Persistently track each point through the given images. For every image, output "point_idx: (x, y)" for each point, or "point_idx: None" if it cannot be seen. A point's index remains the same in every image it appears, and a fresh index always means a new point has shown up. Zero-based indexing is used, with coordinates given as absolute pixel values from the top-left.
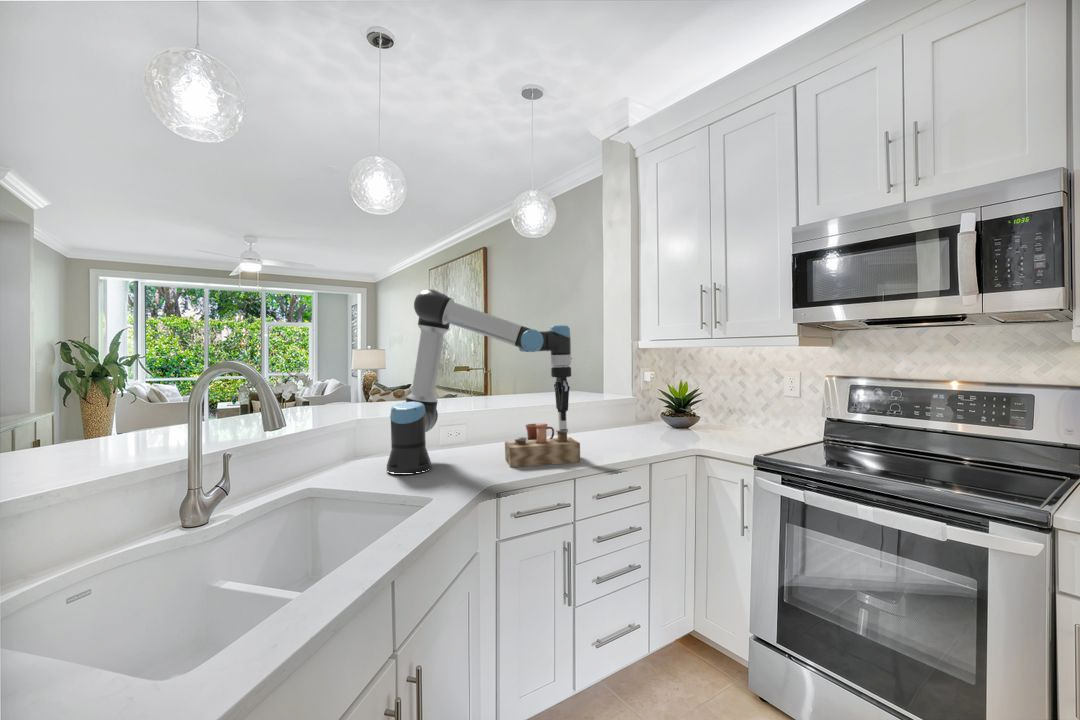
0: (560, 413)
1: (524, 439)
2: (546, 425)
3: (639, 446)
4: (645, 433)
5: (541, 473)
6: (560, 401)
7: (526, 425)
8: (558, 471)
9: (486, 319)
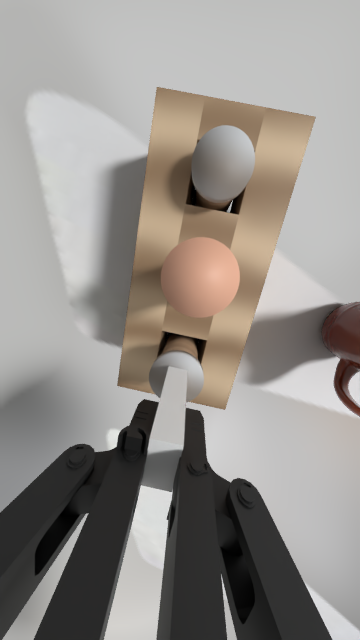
0: (149, 435)
1: (192, 176)
2: (167, 299)
3: None
4: (322, 617)
5: (68, 213)
6: (51, 600)
7: None
8: (72, 265)
9: None
